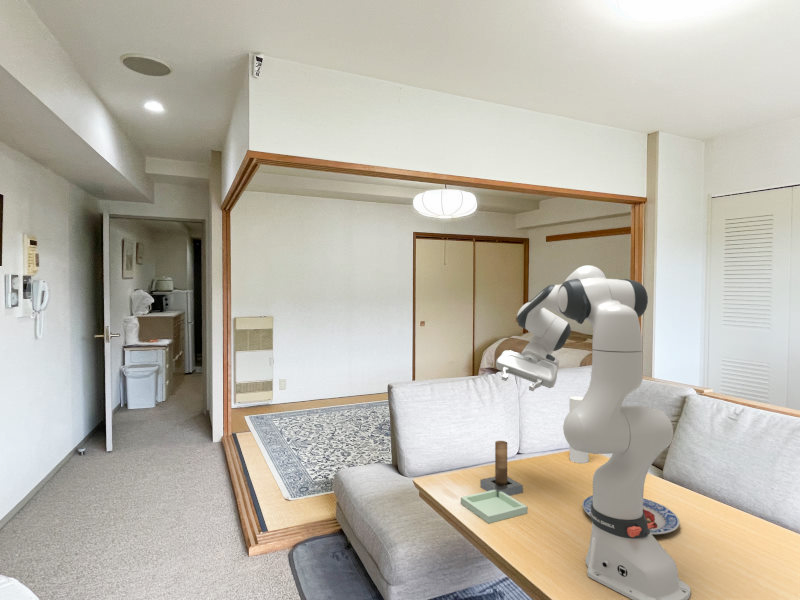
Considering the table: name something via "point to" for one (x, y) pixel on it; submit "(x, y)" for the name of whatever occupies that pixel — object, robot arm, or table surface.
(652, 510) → the ceramic plate
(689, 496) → the table surface
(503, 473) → the dowel
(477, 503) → the tray
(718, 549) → the table surface
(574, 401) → the cylindrical container
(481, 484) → the socket block
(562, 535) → the table surface
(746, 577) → the table surface
